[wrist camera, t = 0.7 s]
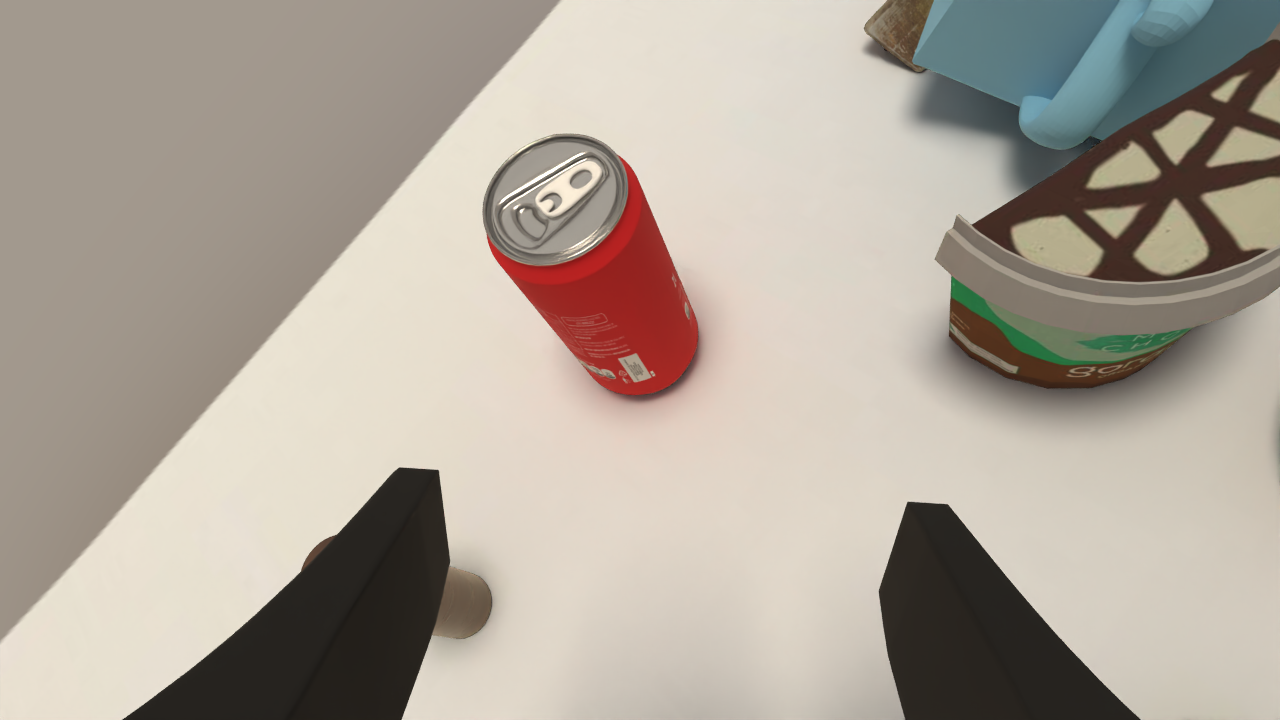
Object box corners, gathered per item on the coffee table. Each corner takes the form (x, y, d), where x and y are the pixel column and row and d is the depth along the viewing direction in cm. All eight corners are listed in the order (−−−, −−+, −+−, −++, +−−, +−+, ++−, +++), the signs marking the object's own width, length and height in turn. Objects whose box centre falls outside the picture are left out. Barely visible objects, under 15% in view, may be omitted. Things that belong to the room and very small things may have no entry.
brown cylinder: (482, 644, 32) (358, 627, 24) (426, 632, 33) (286, 611, 25) (498, 578, 33) (383, 540, 25) (443, 568, 34) (313, 528, 26)
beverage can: (567, 344, 36) (446, 197, 26) (656, 274, 37) (574, 99, 26) (631, 427, 34) (529, 304, 23) (726, 351, 34) (668, 195, 24)
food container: (1020, 483, 30) (1093, 390, 21) (916, 355, 32) (940, 224, 23) (1307, 306, 29) (1506, 136, 20) (1179, 193, 32) (1304, 0, 23)
